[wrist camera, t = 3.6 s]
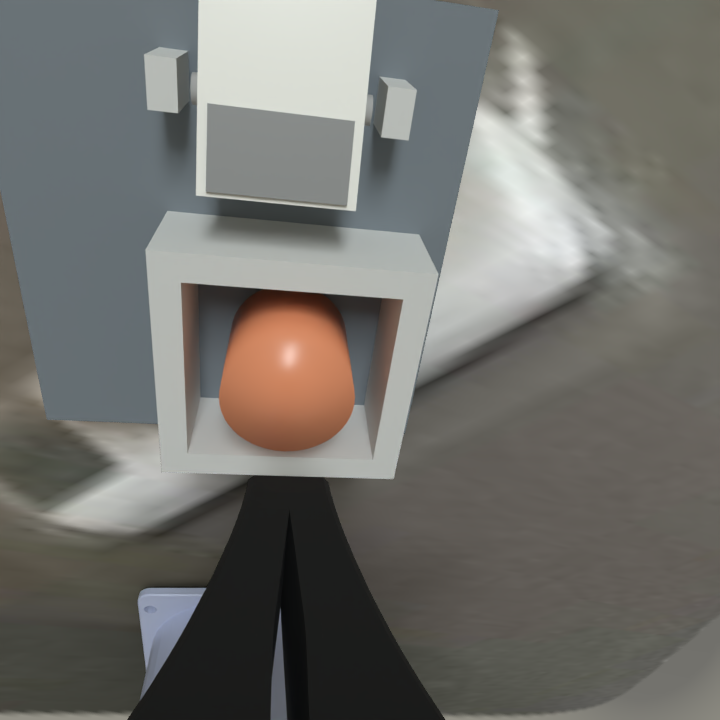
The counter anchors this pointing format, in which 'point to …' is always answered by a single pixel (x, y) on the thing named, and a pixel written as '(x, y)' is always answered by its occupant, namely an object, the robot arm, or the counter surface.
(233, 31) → the rocker
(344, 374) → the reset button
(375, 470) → the breaker panel
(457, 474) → the counter surface
